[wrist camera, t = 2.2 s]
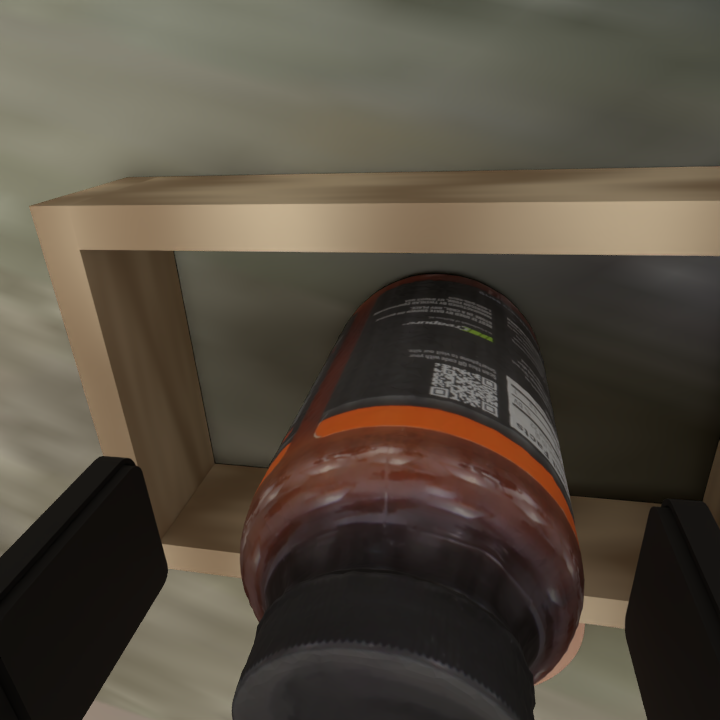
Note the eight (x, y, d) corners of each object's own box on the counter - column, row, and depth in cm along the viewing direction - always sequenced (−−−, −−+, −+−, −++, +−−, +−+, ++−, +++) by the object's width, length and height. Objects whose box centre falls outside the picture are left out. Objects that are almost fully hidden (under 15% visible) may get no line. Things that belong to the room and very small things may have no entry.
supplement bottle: (369, 454, 19) (238, 863, 9) (318, 288, 17) (71, 597, 7) (556, 434, 17) (640, 913, 8) (527, 246, 15) (594, 579, 5)
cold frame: (845, 163, 13) (976, 198, 9) (729, 536, 18) (787, 649, 14) (127, 177, 16) (29, 206, 13) (194, 483, 21) (135, 564, 18)
